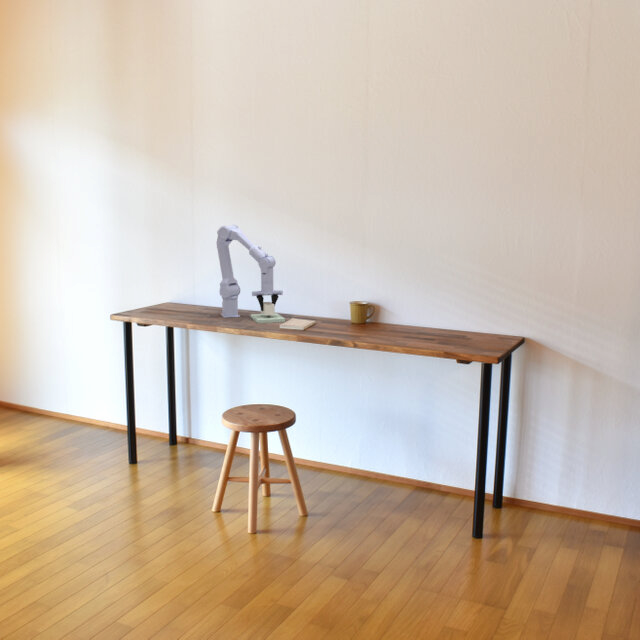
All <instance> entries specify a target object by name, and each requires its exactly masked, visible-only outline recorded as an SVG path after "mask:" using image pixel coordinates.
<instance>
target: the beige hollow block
mask: <svg viewBox="0 0 640 640" xmlns="http://www.w3.org/2000/svg"><path fill="white" fill-rule="evenodd" d="M275 306H276V304H275V305H274V304H273V303H272V301H263V311H261V310H260V314H264V315H265V316H266V315H275V313H276V312H275V311H276V310H275V309H276V308H275Z"/></svg>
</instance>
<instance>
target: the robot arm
mask: <svg viewBox="0 0 640 640" xmlns="http://www.w3.org/2000/svg"><path fill="white" fill-rule="evenodd" d="M216 233H217V239H216V249H217V255H218V260H219V266H220V271H221V277H222V280H221V281H220V283H219V295H220V296H221V299H222V303H221V305H222V307H221V308H222V310H221V311H222V313H220V315H221V317H223V318H224V319H226V318H227V319H228V318H240V317H241V315H240V314H239V308H238V307H239V306H238V305H239V301H238V298H239V295H240V294H241V287H240V285H239V283H238V280H237V279H236V278H235V276H234V272H233V271H234V270H233V265H232V259H231V252H230V248H229V245H230V244H231V243H232V241H237V242H239V243H240V244H241V245H242V246H243V247H245V248H246V249H247V250H248V253H249V254H248V255H250V256H251V257H252V258H253V259H254V260H255V262H257V264H258V267H259V269H260V272H261V273H260V278H261V279H260V282H261V283H260V284H261V285H260V289H261V290H258V291H256V290H255V291H251V297H256V299H257V301H258V304H259V307H260V312H261V311H263V302H264V296H270V298H271V303H273V304H274V305H275V306H276V303H277V301H278V299H279V296H283V295H284V292H283V290H274V267H275V265H276V262H277V261H276V260H275V258H274V257H273V255H269V254H268V253H267V252H265V251H264V249H262V246H260V245H257V244H256V245H254V244H253V242H252V241H251V240H250V239H249V238H248V237H247V236H246V235H245V233H243V230H242V229H241V228H239V226H238V225H236V224H232V225H222V226H220V227H219V228H218V230H217V231H216Z"/></svg>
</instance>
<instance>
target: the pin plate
mask: <svg viewBox="0 0 640 640" xmlns="http://www.w3.org/2000/svg"><path fill="white" fill-rule="evenodd" d="M250 319H252V320H253V321H255V322H256V323H257V324H270V323H271V324H272V323H285V322H286V318H285V317H283V316H282V315H280V314H279V313H278V312H275V315H266V316H265V315H264V314H262V313H251V314H250Z"/></svg>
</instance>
